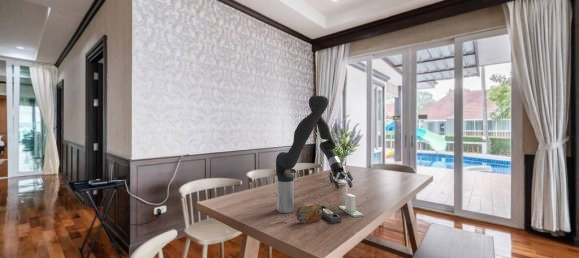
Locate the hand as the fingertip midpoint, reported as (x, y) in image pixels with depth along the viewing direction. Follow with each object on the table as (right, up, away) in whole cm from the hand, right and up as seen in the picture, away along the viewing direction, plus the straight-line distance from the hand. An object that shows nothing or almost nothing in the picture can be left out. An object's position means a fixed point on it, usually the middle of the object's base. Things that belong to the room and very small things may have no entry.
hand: (344, 187), depth 145 cm
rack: (-12, -12, -12) cm, 21 cm away
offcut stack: (-12, -13, -12) cm, 21 cm away
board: (+2, -12, -6) cm, 14 cm away
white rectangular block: (+2, -11, -6) cm, 13 cm away
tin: (-22, -13, -20) cm, 33 cm away
